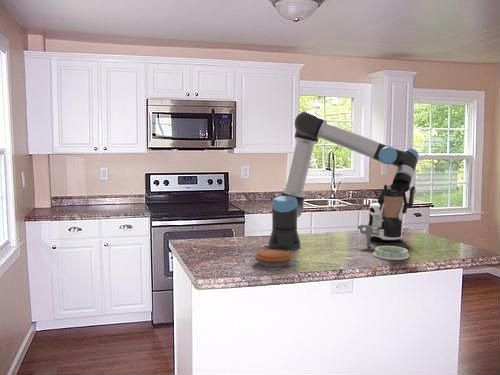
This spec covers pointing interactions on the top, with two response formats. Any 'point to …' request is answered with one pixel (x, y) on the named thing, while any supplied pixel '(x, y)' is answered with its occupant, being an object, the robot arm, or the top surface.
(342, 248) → the top surface
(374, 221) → the milk container
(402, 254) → the pale green round dish
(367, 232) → the mechanical component
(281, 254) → the pie
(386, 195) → the travel mug
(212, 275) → the top surface
